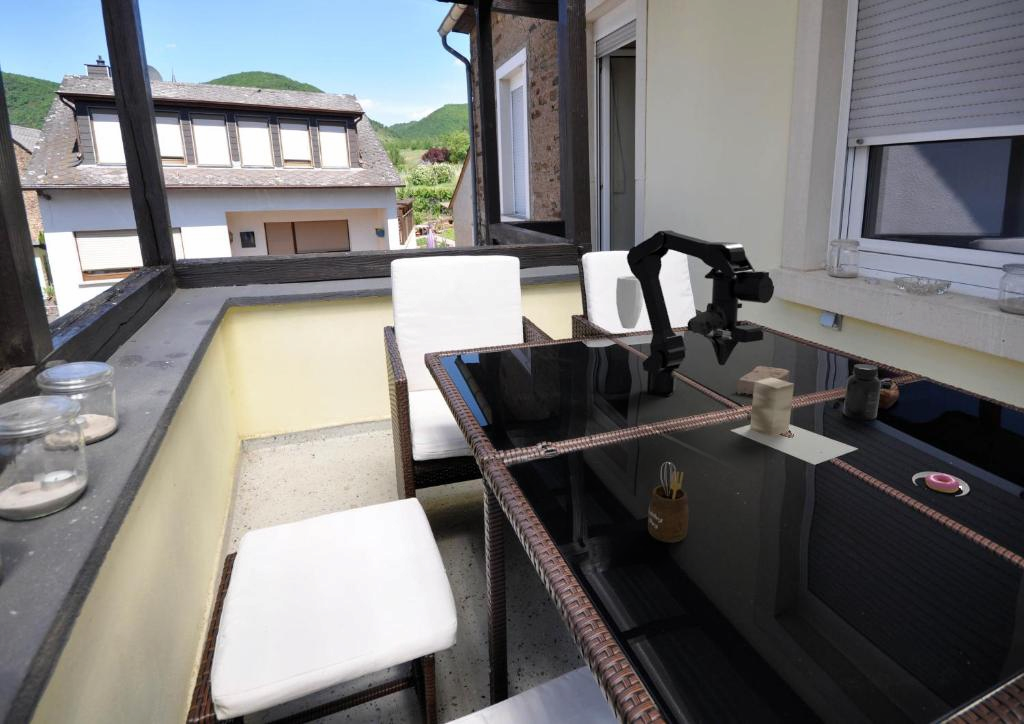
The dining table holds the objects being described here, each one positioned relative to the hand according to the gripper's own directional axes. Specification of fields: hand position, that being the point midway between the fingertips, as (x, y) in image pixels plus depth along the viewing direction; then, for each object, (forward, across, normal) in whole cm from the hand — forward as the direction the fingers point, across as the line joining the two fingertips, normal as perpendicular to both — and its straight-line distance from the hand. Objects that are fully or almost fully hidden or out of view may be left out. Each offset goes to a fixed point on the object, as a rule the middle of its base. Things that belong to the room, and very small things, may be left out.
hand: (721, 364), depth 138 cm
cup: (+9, -78, +28) cm, 83 cm away
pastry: (+13, +10, +40) cm, 43 cm away
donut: (+14, +45, +10) cm, 48 cm away
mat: (+12, +20, 0) cm, 24 cm away
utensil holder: (+13, +37, -45) cm, 60 cm away
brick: (+12, -8, +22) cm, 26 cm away
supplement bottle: (+13, +16, +27) cm, 34 cm away
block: (+12, +15, 0) cm, 19 cm away
